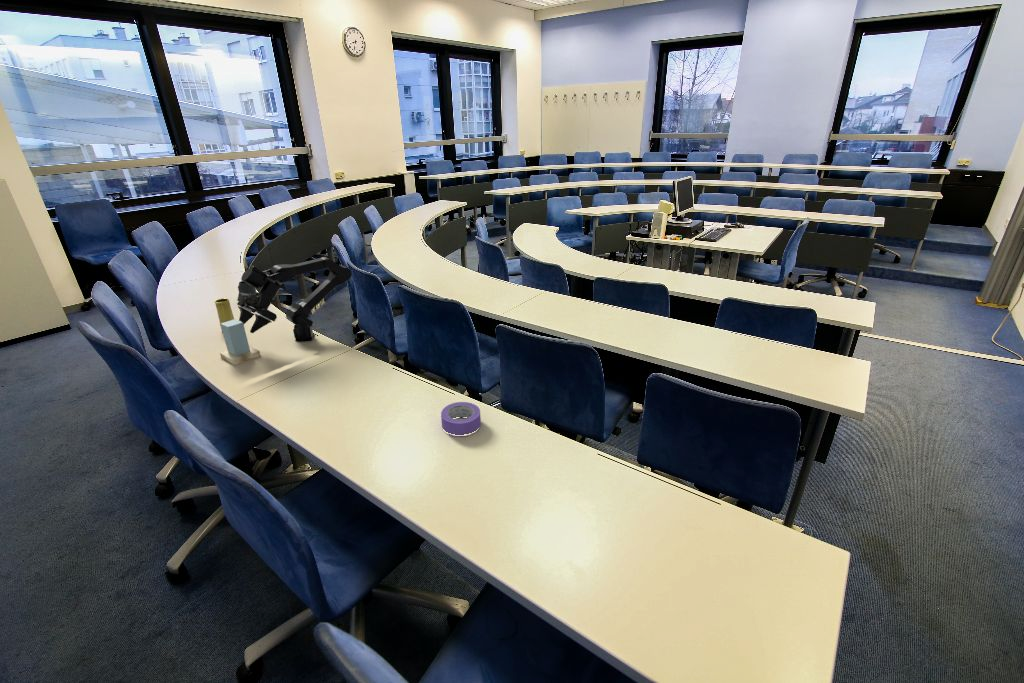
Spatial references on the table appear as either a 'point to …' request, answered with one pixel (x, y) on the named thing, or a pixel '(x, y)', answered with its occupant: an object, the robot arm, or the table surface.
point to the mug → (246, 288)
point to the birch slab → (240, 356)
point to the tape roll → (464, 424)
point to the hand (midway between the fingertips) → (245, 329)
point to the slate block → (235, 337)
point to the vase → (224, 310)
